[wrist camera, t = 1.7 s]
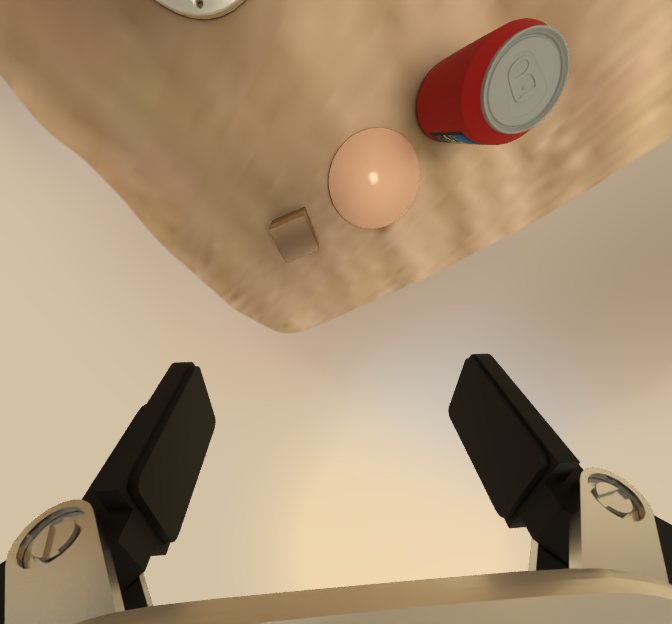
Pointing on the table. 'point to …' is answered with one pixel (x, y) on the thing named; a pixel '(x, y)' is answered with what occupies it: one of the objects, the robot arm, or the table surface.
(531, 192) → the table surface
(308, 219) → the walnut block
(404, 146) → the coaster
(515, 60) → the beverage can
